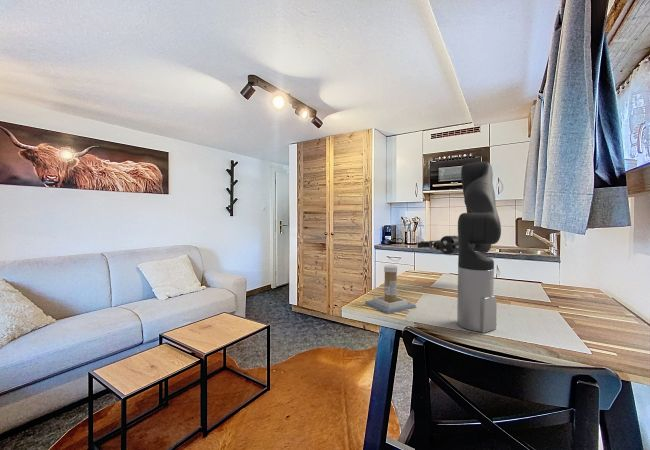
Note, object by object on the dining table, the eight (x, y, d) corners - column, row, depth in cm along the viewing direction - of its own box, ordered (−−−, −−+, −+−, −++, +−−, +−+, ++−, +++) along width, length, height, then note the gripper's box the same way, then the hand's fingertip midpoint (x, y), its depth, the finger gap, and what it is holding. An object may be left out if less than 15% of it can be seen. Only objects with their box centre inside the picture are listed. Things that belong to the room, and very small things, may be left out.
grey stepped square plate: (415, 307, 97) (415, 300, 97) (387, 313, 91) (387, 306, 91) (391, 298, 108) (392, 292, 108) (365, 303, 102) (365, 297, 101)
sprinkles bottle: (381, 301, 101) (382, 265, 101) (393, 300, 102) (393, 264, 102) (387, 305, 97) (387, 267, 96) (399, 304, 98) (399, 266, 97)
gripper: (439, 235, 120) (412, 235, 112) (470, 236, 108) (443, 237, 100) (438, 252, 120) (412, 253, 112) (469, 255, 108) (442, 257, 100)
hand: (426, 246), depth 106 cm, fingers open, 8 cm apart
